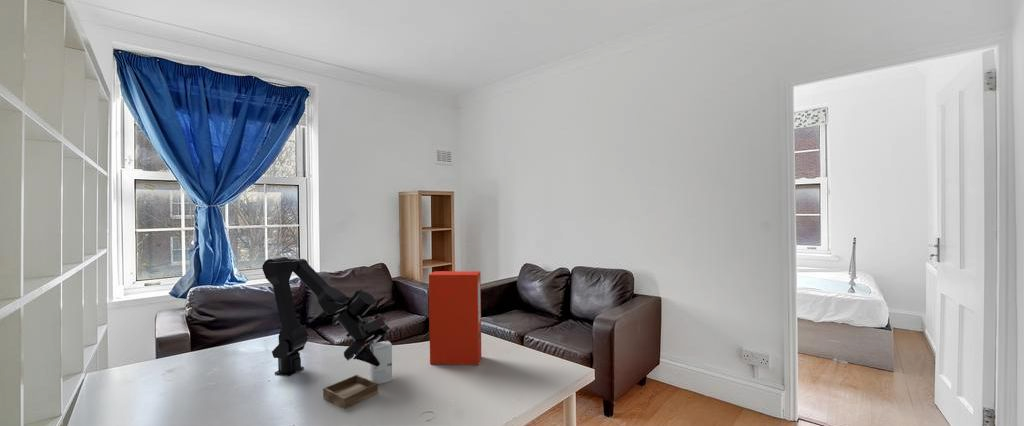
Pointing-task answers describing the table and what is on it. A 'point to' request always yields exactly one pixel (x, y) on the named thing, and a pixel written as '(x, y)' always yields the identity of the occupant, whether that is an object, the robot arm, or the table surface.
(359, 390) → the shallow wooden tray
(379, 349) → the skincare box
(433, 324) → the file binder
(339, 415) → the table surface
